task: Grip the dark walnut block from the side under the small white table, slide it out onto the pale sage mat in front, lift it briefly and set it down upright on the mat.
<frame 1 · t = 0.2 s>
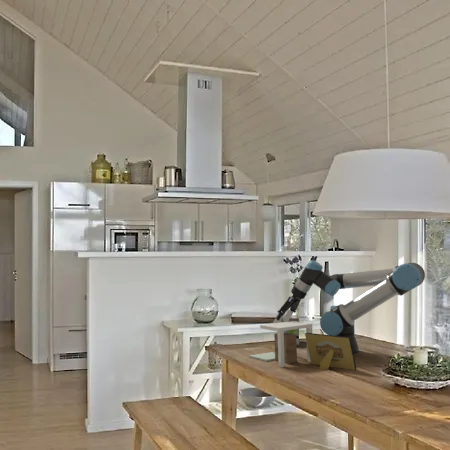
hand: (279, 323, 311), 15 cm above the table, tool tilted 35°, fingers open, 13 cm apart
walnut block: (286, 361, 288), on the table
picture frame: (328, 368, 272), on the table
small white table: (286, 361, 288), on the table
mat: (269, 357, 299), on the table
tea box: (289, 343, 339), on the table
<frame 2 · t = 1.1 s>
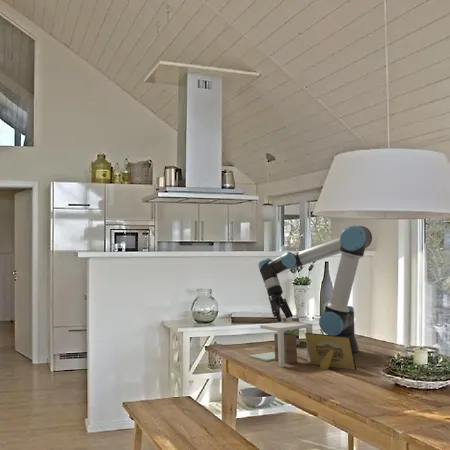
hand: (287, 329, 301), 13 cm above the table, tool tilted 30°, fingers open, 9 cm apart
nothing on the table moved.
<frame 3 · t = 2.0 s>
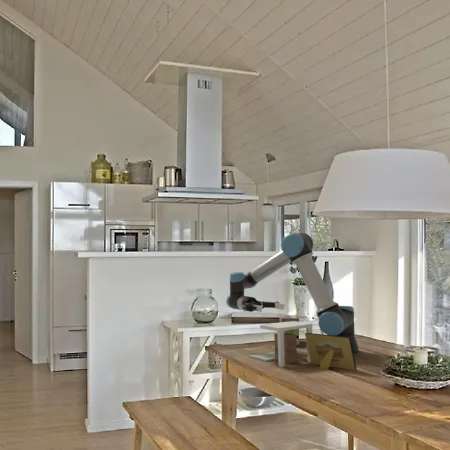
hand: (272, 307, 297), 24 cm above the table, tool horizontal, fingers open, 13 cm apart
nothing on the table moved.
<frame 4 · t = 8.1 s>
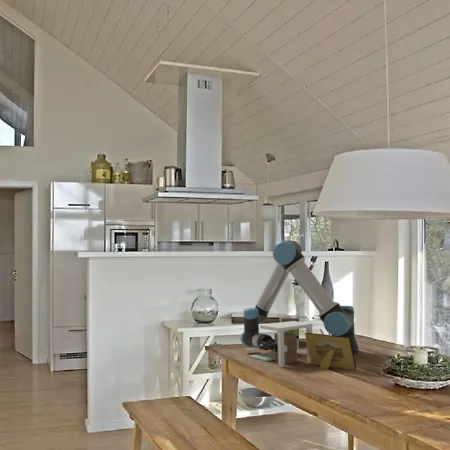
hand: (292, 347, 284), 7 cm above the table, tool horizontal, fingers closed on walnut block, 6 cm apart
walnut block: (286, 361, 288), on the table, touching gripper
everything else where it was.
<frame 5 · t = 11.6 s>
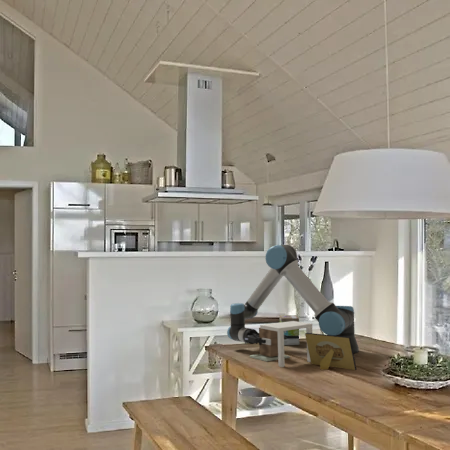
hand: (276, 341, 295), 8 cm above the table, tool horizontal, fingers closed on walnut block, 6 cm apart
walnut block: (270, 354, 299), point 1 cm above the table, touching gripper
everything else where it was.
when the fingers open (9 cm above the table, at t = 15.2 s): walnut block drops 1 cm, resting on mat.
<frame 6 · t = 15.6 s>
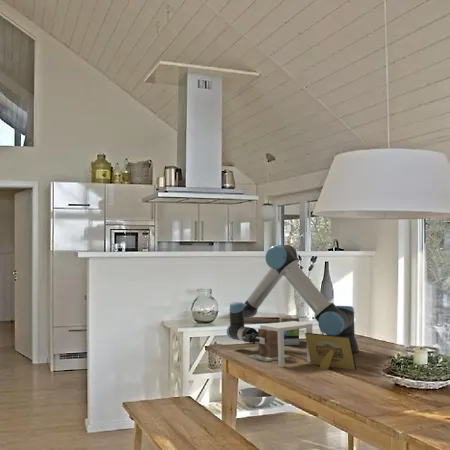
hand: (273, 339, 296), 9 cm above the table, tool horizontal, fingers open, 11 cm apart
walnut block: (269, 355, 300), point 1 cm above the table, touching mat
everything else where it was.
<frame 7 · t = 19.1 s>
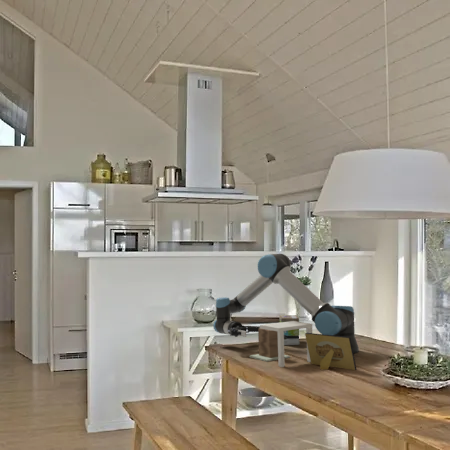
hand: (256, 332, 308), 11 cm above the table, tool horizontal, fingers open, 13 cm apart
nothing on the table moved.
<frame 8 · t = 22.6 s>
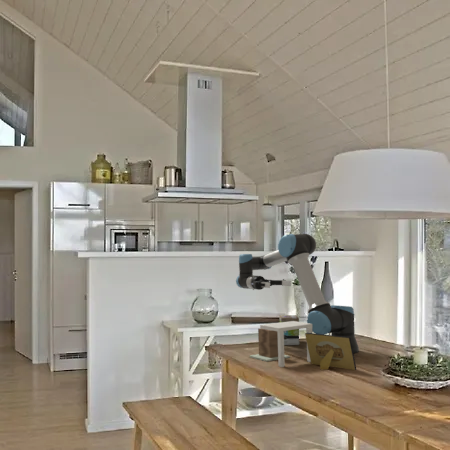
hand: (279, 284, 320), 34 cm above the table, tool horizontal, fingers open, 13 cm apart
nothing on the table moved.
at the end: walnut block inside the target area on the mat (0.0 cm from its centre), point 0.8 cm above the mat's base; walnut block tilted 0°; the gripper is holding nothing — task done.
